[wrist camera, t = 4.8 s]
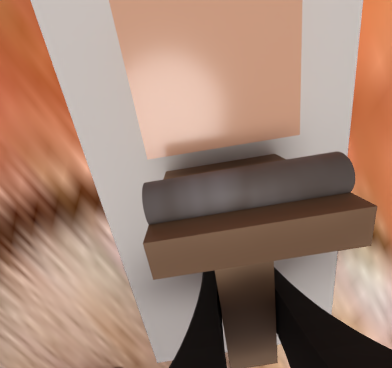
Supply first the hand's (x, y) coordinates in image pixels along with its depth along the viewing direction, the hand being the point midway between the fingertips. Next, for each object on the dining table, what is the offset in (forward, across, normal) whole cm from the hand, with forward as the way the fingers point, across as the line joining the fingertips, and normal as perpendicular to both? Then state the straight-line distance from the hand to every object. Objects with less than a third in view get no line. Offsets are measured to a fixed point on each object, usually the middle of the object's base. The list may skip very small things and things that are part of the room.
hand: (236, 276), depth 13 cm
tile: (0, 0, -8) cm, 8 cm away
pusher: (+1, 0, -2) cm, 3 cm away
